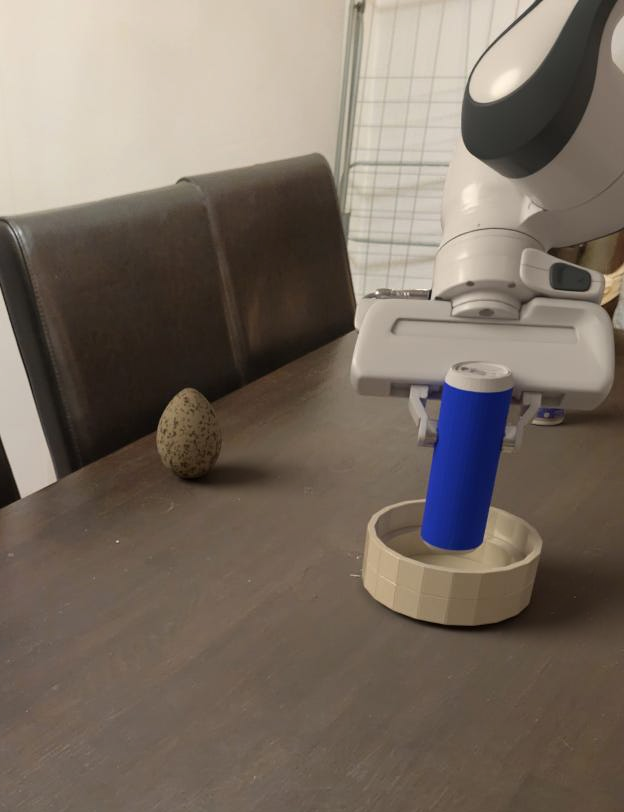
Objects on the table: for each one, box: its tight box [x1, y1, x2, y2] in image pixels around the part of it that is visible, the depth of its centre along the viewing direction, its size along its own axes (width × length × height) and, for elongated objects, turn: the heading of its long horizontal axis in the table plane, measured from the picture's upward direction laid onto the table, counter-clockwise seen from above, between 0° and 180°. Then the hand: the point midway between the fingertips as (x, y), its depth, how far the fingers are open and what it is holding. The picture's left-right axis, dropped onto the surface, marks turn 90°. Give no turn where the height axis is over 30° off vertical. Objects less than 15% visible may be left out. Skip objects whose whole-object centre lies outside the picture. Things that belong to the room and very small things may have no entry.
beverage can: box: [421, 361, 514, 555], centre depth 78 cm, size 5×5×15 cm
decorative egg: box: [156, 387, 223, 479], centre depth 104 cm, size 7×7×10 cm
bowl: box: [361, 498, 544, 627], centre depth 83 cm, size 14×14×6 cm
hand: (468, 447), depth 77 cm, fingers closed on beverage can, 5 cm apart
